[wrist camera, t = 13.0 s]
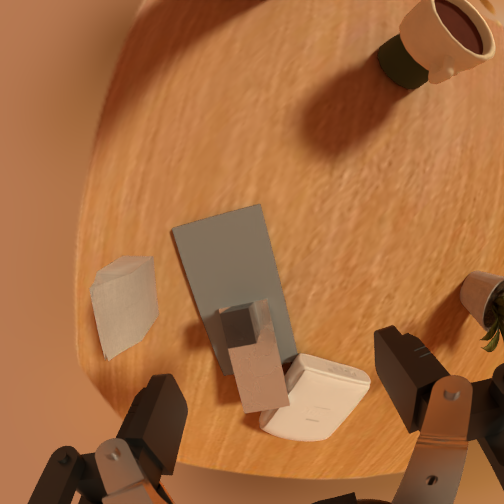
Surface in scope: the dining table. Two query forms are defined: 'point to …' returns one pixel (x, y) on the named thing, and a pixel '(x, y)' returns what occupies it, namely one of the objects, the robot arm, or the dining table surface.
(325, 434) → the photo printer
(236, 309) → the grey l-shaped piece
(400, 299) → the dining table surface
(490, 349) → the house plant
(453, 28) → the character mug
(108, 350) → the tea bag
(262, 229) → the mat
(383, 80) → the dining table surface
